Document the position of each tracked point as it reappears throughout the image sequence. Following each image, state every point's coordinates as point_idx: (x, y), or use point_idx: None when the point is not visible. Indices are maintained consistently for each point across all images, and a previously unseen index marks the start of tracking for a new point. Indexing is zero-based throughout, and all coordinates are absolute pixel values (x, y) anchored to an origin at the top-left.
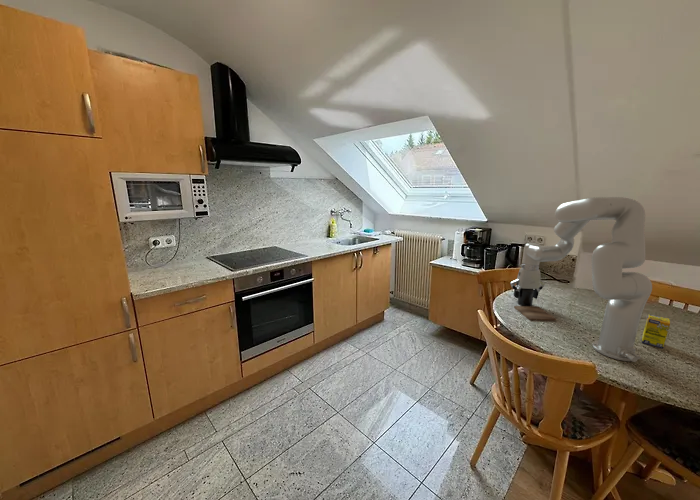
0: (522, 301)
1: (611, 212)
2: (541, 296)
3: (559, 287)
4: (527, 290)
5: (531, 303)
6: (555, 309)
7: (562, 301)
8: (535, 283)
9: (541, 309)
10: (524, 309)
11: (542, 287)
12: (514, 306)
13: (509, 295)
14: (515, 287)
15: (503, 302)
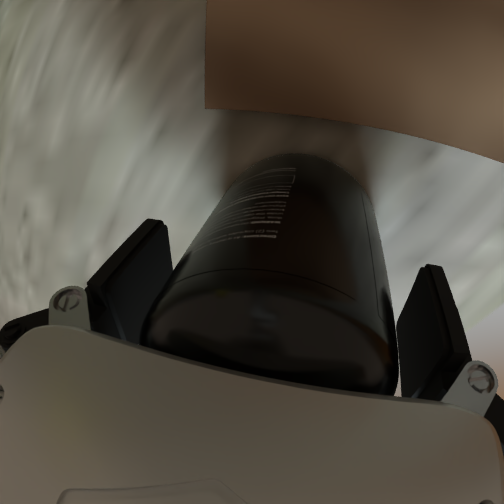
0: (370, 214)
1: None
2: None
3: None
4: (332, 339)
5: (256, 168)
6: (66, 93)
7: (7, 239)
8: (43, 475)
9: (219, 15)
10: (459, 41)
11: (3, 330)
12: (501, 158)
13: None
14: (500, 432)
15: (479, 287)
